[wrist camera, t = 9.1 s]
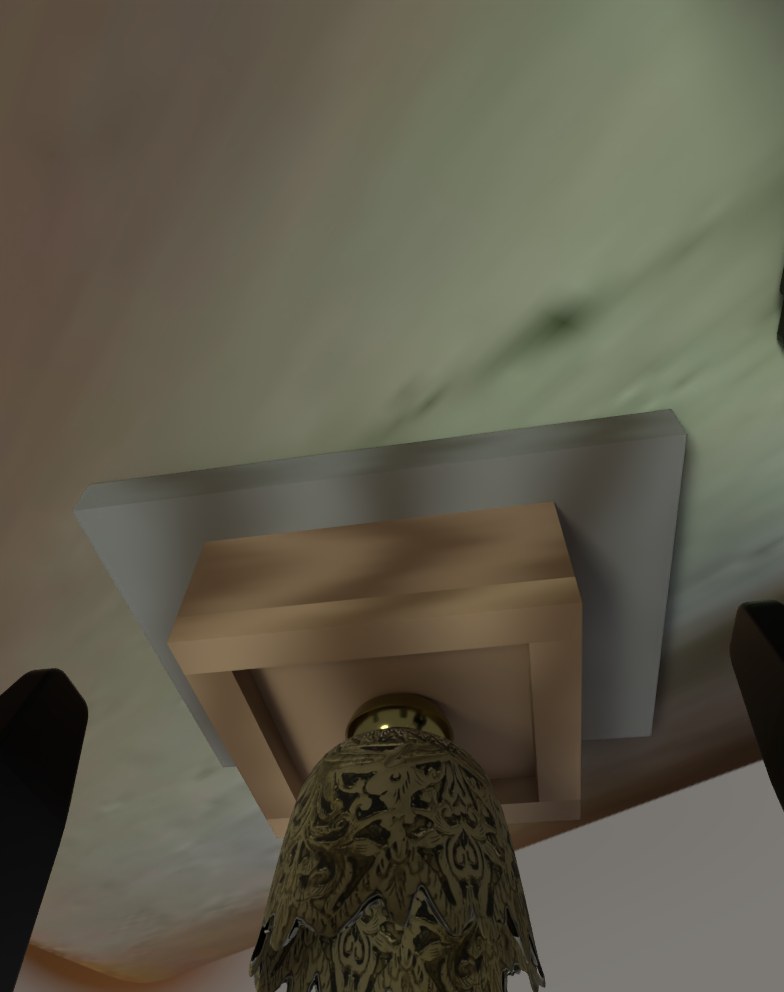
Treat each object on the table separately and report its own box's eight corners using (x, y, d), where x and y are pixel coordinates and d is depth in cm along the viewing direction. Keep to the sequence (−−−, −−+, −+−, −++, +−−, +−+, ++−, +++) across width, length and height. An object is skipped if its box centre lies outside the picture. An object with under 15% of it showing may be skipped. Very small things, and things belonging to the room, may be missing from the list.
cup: (440, 792, 26) (449, 1050, 20) (264, 741, 24) (211, 1008, 18) (549, 689, 22) (606, 973, 16) (347, 618, 20) (317, 908, 14)
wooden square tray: (671, 409, 21) (746, 530, 16) (641, 707, 31) (684, 838, 26) (89, 484, 23) (7, 609, 19) (229, 739, 33) (199, 865, 28)
